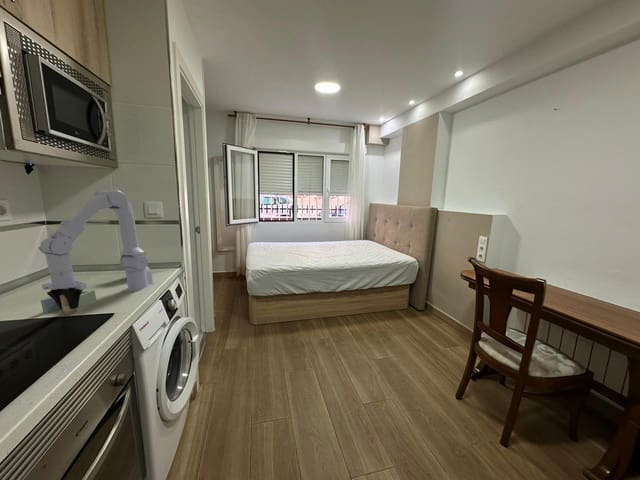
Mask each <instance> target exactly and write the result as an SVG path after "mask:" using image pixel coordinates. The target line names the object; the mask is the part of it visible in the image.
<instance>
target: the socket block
mask: <svg viewBox="0 0 640 480" xmlns="http://www.w3.org/2000/svg"><path fill="white" fill-rule="evenodd" d="M94 301H97V296H96V291H95V289H94V290H91V289H89V290H88V289H84V290H82V292H81V295H80V298H79V304H78V307H77V308H76V309H78V308H81V307H83V306H85V305H87V304H90V303H92V302H94Z"/></svg>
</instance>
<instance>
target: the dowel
mask: <svg viewBox="0 0 640 480" xmlns="http://www.w3.org/2000/svg"><path fill="white" fill-rule="evenodd" d="M60 300H61V304H62V308H63V309H62V312H63V315H64V316H69V315H74V314H76V313H77V312H78V310H77V309H78V308H75V309H70V307H69V304H68V301H67V299H66V297H65V296H64V295H63V294H62V295H60Z"/></svg>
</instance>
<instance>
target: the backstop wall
mask: <svg viewBox="0 0 640 480" xmlns="http://www.w3.org/2000/svg"><path fill="white" fill-rule="evenodd" d="M83 290H85V289H83ZM40 304H41V308H42V312H43V314H49V313H52V312H53V311H56V310H58V309H60V308H59V306H58V305H57V303H56V302H55V300H54V299H53V298H52V297H50V296H48V297H46V298H44V299H43V298H42V299H40Z"/></svg>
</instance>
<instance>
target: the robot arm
mask: <svg viewBox="0 0 640 480" xmlns="http://www.w3.org/2000/svg"><path fill="white" fill-rule="evenodd" d="M128 199H129V198H128V195H127V194H126V193H124V192H123V191H121V190H119V189H113V190H111V189H109V190H97V191H95V192H94V194H92V195H91V196H90V197H89V200H88V202H86V203H85V205H84V206H83V207H82V209H80V211H79V212H78V213H77V214H76V215H75V217H73V219H66V220H64V221H61V222H60V226H59V227H58V228H57V229H56V231H54V232H52V233H50V234H49V236H50V237H46V238H45V239H42V241H41V242H40V245H39V246H38V249H39V251H40V252H41V253H42V254H44V255H45V260H46V265H47V269H48V272H49V277H50V281H51V282H45V283H43V284H41V287H42V290H43V291H45V290H50V291H47V292H46V294H47V295H48V297H52V298H53V299H54V300H55V302H56V303H57V305H58V306H59V309H60V310H63V308H62V304H61V300H60V295H62V294H63V295H64V296H65V297H66V299H67V301H68V304H69V307H70V309H75V308H76V309H78V308H77V307H78V304H79V298H80V295H81V292H82V290H83V289H84V290H86V289H87V288H88V287H87V282H81V281H76V279H75V274H74V269H73V264H72V260H71V256H70V251H71V250H72V249H73V243H74V242H75V241H76V240H77V239H78V237H79V236H80V235H81V234H82V233H83V232H84V231H85V225H86V223H87V222H88V221H90V219H91V218H92V217H94V215H96V214H97V213H98V212H99V211H100V210H103V209H110V210H111V211H113V212H115V213H117V220H118V225H119V230H120V231H119V232H120V236H121V243H122V247H123V249H122V251H121V252H120V258H119V265H120V266H121V268H123V270H124V271H125V278H126V283H127V288H124V289H123V291H124V292H127V291H128V292H131V291H132V292H140V291H142V290H144V289H147V288H148V287H151V286H152V285H153V286H154V285H155V284H156V283H155V282H154V281H153V274H152V270H151V269H150V268H149V267H148V264H149V259H148V257H147V255H146V256H145V252H146V251H144V250H143V249H142V248H141V247H140V244H139V240H138V232H137V226H136V221H135V216H134V209H133V206H132V205H131V203H130V201H129V200H128ZM146 266H147V267H146Z"/></svg>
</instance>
